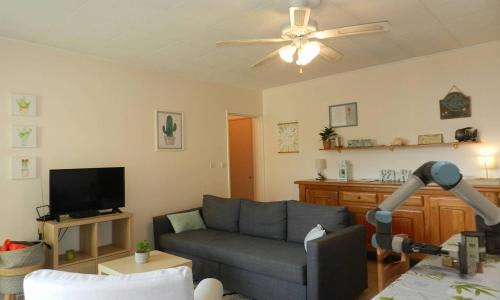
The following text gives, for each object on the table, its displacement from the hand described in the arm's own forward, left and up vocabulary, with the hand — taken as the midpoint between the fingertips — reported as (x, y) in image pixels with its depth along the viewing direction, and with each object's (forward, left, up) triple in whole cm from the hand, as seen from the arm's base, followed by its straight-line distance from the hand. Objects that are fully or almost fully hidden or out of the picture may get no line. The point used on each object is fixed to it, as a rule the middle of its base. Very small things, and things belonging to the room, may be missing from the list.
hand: (457, 254), depth 149 cm
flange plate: (-13, -3, -10) cm, 16 cm away
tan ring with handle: (-8, -2, -8) cm, 12 cm away
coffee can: (-29, 0, -10) cm, 30 cm away
